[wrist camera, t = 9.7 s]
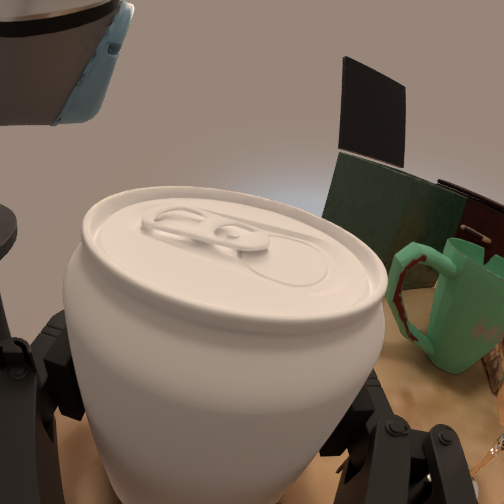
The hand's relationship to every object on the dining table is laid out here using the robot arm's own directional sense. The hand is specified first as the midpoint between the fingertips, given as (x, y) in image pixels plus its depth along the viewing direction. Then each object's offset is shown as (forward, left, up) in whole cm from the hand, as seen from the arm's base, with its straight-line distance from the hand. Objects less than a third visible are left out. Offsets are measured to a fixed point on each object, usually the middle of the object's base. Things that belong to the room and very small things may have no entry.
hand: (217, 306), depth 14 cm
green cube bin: (+17, +29, -7) cm, 34 cm away
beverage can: (+1, -5, -7) cm, 8 cm away
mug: (+18, +9, -7) cm, 21 cm away
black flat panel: (+13, +37, +15) cm, 41 cm away
